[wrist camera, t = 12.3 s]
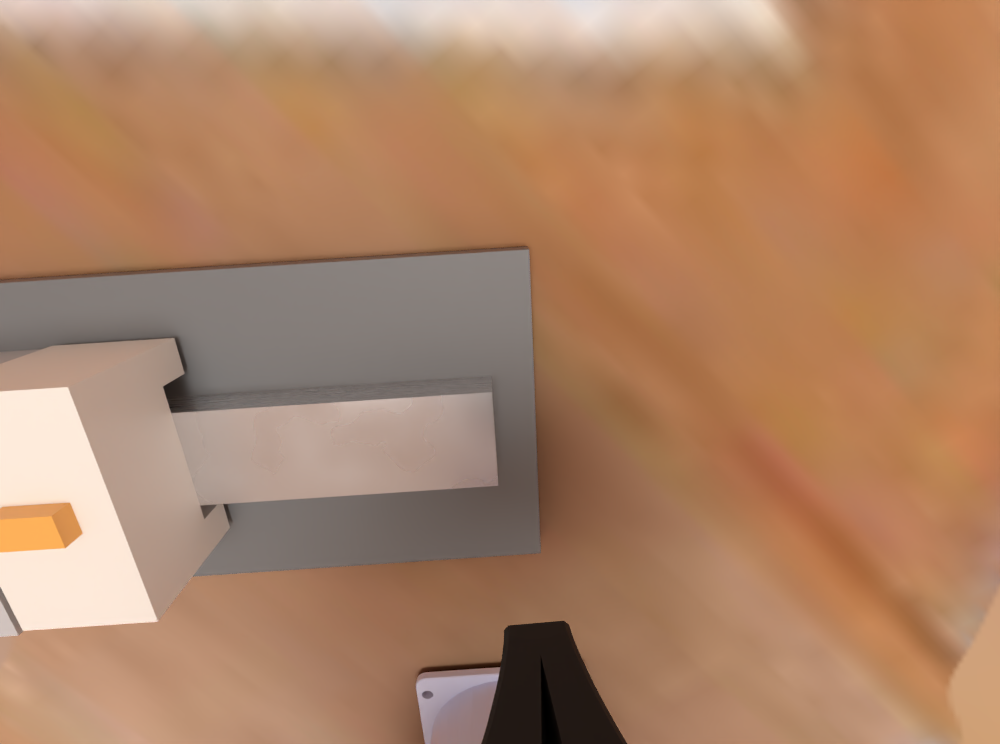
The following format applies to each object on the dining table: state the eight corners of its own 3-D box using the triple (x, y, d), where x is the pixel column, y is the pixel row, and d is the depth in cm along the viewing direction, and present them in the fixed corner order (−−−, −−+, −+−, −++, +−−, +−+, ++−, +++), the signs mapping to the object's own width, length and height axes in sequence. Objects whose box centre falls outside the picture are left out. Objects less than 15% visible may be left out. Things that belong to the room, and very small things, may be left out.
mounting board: (538, 537, 21) (540, 553, 20) (16, 571, 21) (-6, 589, 20) (526, 246, 17) (529, 249, 16) (-122, 287, 17) (-159, 293, 16)
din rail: (497, 463, 19) (498, 485, 17) (-12, 497, 18) (-53, 522, 17) (491, 376, 17) (491, 392, 16) (-53, 411, 17) (-101, 430, 16)
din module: (230, 527, 19) (145, 638, 14) (124, 534, 19) (4, 648, 14) (173, 337, 16) (46, 396, 12) (52, 345, 16) (-125, 407, 12)
